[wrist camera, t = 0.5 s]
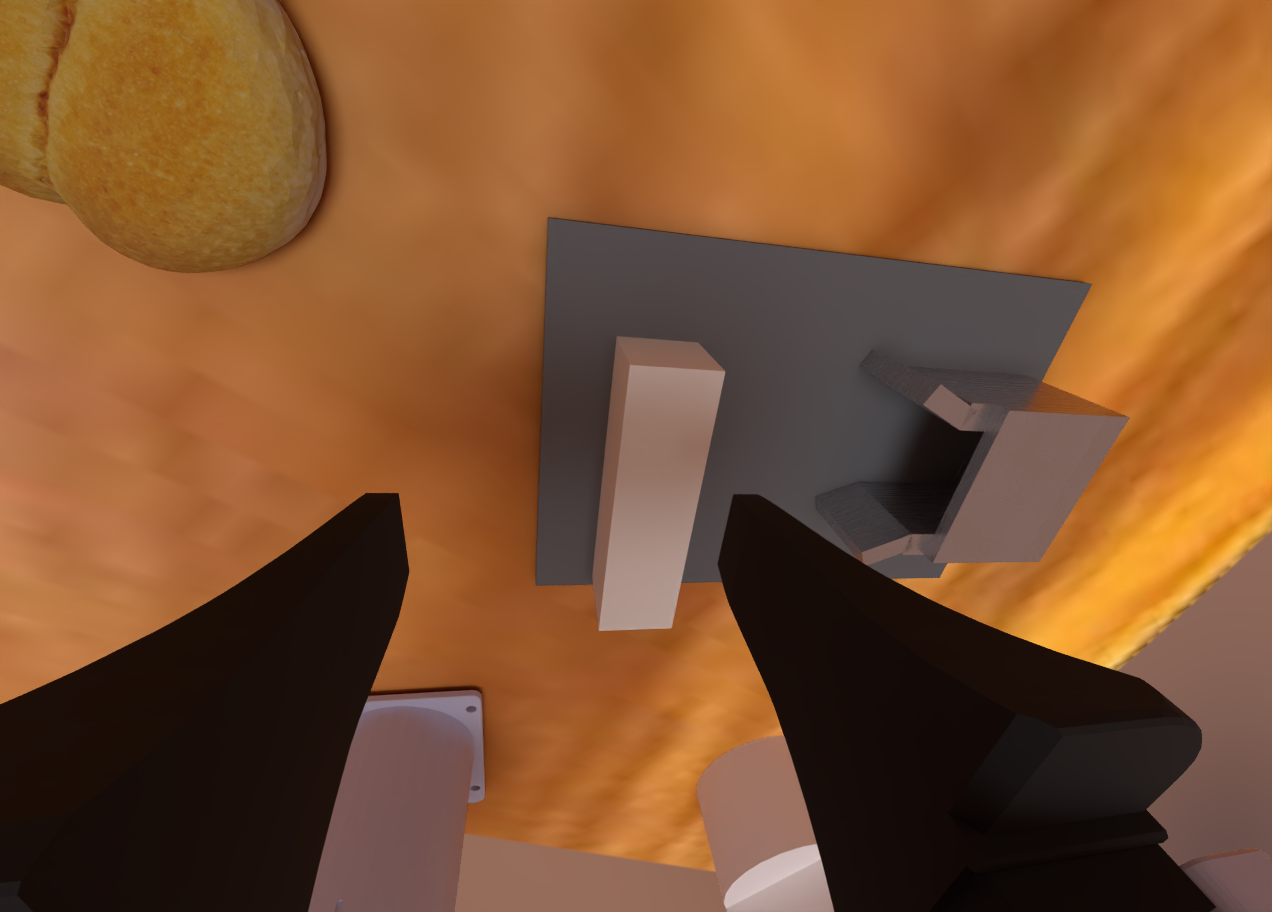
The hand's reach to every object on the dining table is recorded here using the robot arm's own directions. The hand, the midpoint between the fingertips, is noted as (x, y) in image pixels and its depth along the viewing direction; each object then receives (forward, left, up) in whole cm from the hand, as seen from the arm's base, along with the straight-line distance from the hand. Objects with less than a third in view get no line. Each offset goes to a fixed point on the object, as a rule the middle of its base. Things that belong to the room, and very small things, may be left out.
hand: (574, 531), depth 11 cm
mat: (-2, -10, -9) cm, 13 cm away
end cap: (-1, -16, -8) cm, 18 cm away
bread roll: (+8, +11, -9) cm, 17 cm away
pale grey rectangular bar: (-3, -3, -8) cm, 10 cm away
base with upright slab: (-27, -15, -9) cm, 32 cm away
